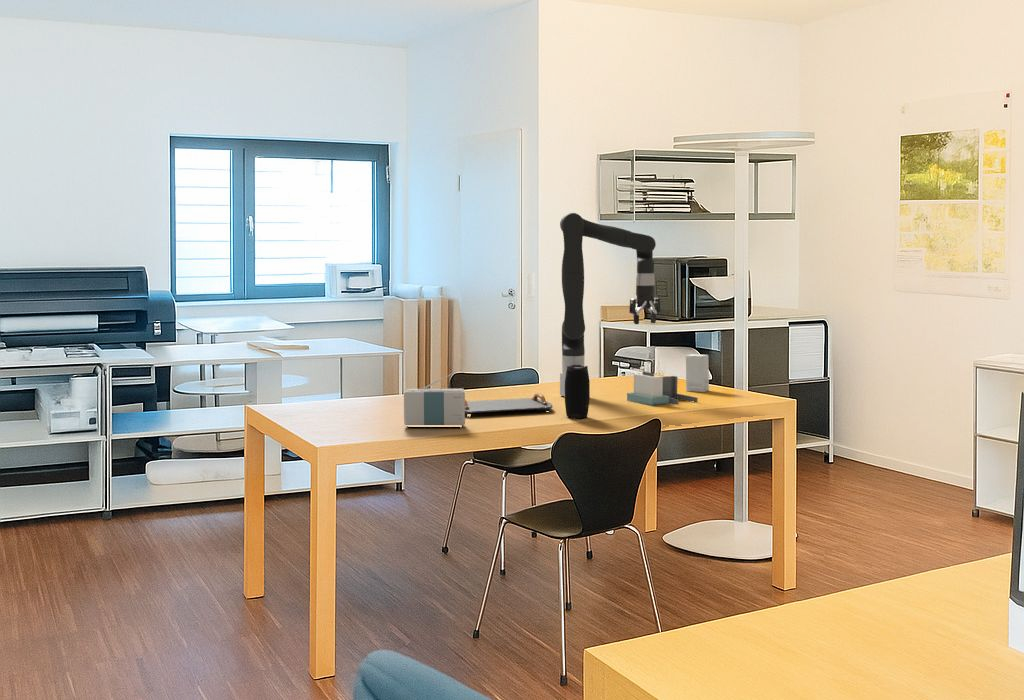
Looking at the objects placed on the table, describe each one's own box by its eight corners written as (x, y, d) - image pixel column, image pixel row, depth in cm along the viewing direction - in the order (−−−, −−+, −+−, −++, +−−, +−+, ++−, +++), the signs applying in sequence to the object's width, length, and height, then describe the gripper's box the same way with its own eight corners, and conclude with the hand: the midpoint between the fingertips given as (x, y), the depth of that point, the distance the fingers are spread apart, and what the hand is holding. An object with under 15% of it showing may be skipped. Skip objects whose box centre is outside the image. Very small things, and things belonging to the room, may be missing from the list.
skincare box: (709, 390, 443) (709, 354, 441) (703, 392, 438) (704, 356, 436) (690, 389, 448) (691, 353, 446) (684, 391, 442) (685, 355, 440)
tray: (651, 405, 404) (651, 398, 403) (627, 400, 417) (627, 393, 417) (669, 403, 408) (669, 396, 408) (644, 398, 422) (644, 391, 421)
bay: (676, 404, 406) (677, 382, 405) (652, 399, 419) (653, 377, 418) (697, 402, 411) (697, 380, 411) (673, 397, 424) (673, 375, 423)
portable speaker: (593, 417, 377) (594, 366, 375) (573, 420, 372) (573, 368, 370) (580, 414, 384) (580, 363, 382) (560, 416, 379) (560, 365, 377)
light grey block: (652, 402, 406) (652, 374, 405) (633, 398, 416) (633, 371, 415) (662, 401, 409) (662, 373, 407) (643, 397, 419) (643, 370, 418)
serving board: (460, 419, 376) (460, 403, 375) (444, 409, 398) (444, 394, 397) (559, 414, 388) (559, 397, 388) (538, 404, 410) (538, 389, 409)
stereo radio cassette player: (403, 429, 355) (403, 372, 353) (406, 425, 364) (405, 368, 361) (464, 429, 355) (464, 371, 353) (465, 425, 364) (465, 368, 361)
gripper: (653, 283, 431) (652, 322, 433) (625, 284, 424) (625, 323, 425) (664, 284, 424) (664, 323, 426) (637, 285, 417) (636, 325, 419)
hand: (644, 323), depth 426 cm, fingers open, 8 cm apart
